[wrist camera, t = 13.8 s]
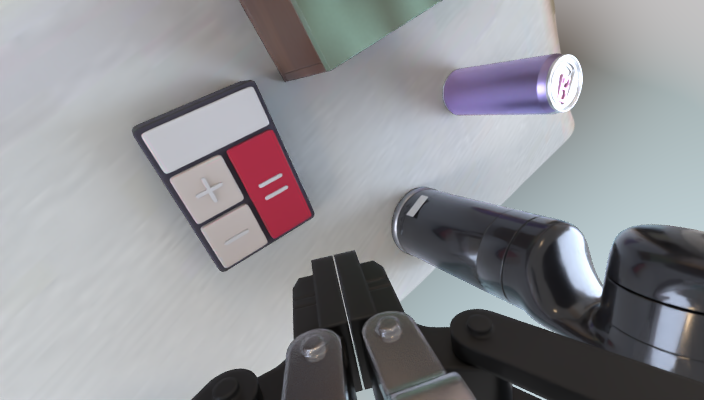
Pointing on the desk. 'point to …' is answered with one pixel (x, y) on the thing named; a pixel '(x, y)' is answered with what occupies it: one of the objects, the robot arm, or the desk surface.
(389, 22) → the lid
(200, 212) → the calculator
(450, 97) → the beverage can
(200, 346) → the desk surface
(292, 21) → the chest
